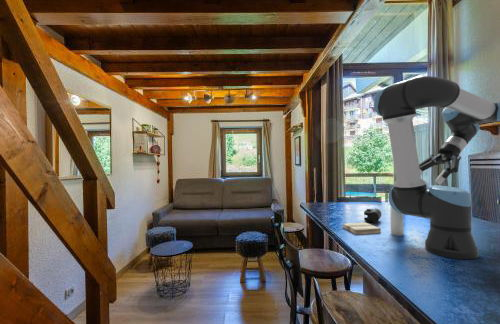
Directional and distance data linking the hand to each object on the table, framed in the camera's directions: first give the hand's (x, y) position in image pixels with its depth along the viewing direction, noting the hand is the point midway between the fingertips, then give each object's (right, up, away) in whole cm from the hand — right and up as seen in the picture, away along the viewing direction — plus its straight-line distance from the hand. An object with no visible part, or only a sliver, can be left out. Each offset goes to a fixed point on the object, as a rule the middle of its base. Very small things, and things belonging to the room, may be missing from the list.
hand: (424, 181), depth 114 cm
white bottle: (-14, -24, -2) cm, 27 cm away
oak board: (-27, -24, +5) cm, 36 cm away
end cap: (-14, -24, +20) cm, 34 cm away
